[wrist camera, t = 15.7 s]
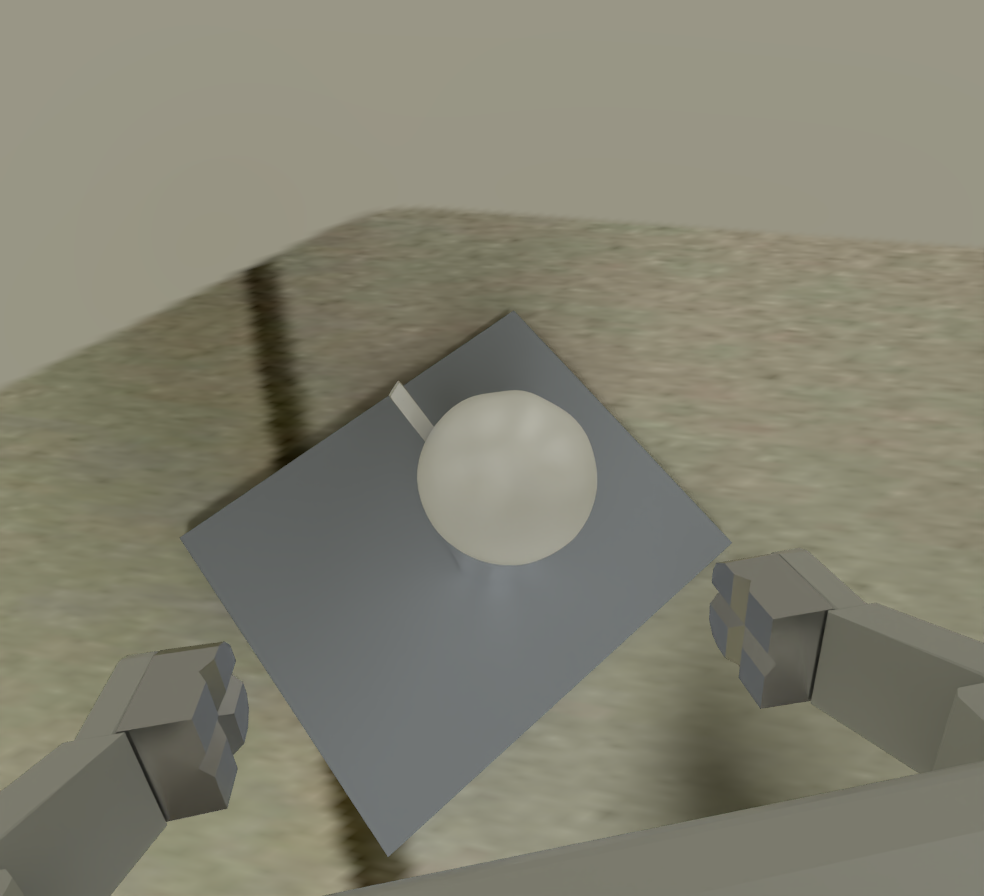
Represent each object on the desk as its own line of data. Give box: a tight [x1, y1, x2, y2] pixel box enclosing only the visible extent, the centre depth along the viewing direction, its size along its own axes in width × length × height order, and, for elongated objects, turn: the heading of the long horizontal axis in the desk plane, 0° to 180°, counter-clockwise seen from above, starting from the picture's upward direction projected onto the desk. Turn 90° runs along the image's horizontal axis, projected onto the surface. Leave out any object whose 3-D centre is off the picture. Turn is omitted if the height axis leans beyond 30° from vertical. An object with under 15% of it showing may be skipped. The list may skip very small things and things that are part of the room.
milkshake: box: [389, 381, 597, 584], centre depth 18 cm, size 5×5×10 cm
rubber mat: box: [180, 311, 732, 857], centre depth 23 cm, size 16×13×1 cm
